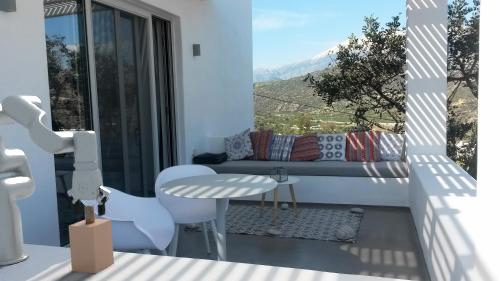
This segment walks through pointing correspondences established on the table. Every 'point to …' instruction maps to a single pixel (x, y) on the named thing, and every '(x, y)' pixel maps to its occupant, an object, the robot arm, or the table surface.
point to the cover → (91, 243)
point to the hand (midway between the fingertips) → (90, 214)
